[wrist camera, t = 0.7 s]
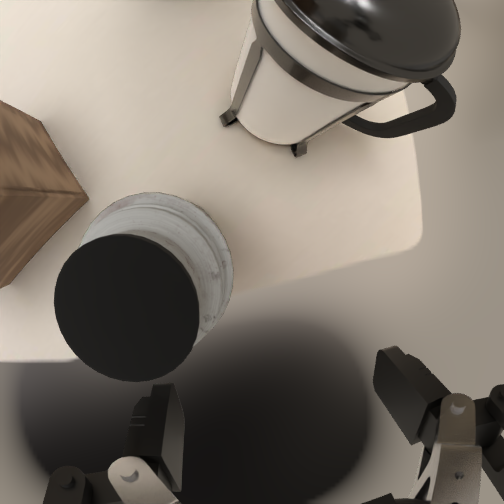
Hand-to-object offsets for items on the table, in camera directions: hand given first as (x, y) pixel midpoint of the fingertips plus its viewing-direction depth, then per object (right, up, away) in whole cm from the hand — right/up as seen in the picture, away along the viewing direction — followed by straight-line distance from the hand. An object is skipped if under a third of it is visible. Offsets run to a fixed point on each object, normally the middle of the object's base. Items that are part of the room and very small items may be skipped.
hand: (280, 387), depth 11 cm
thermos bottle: (-9, +7, +25) cm, 28 cm away
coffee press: (+3, +24, +25) cm, 34 cm away
